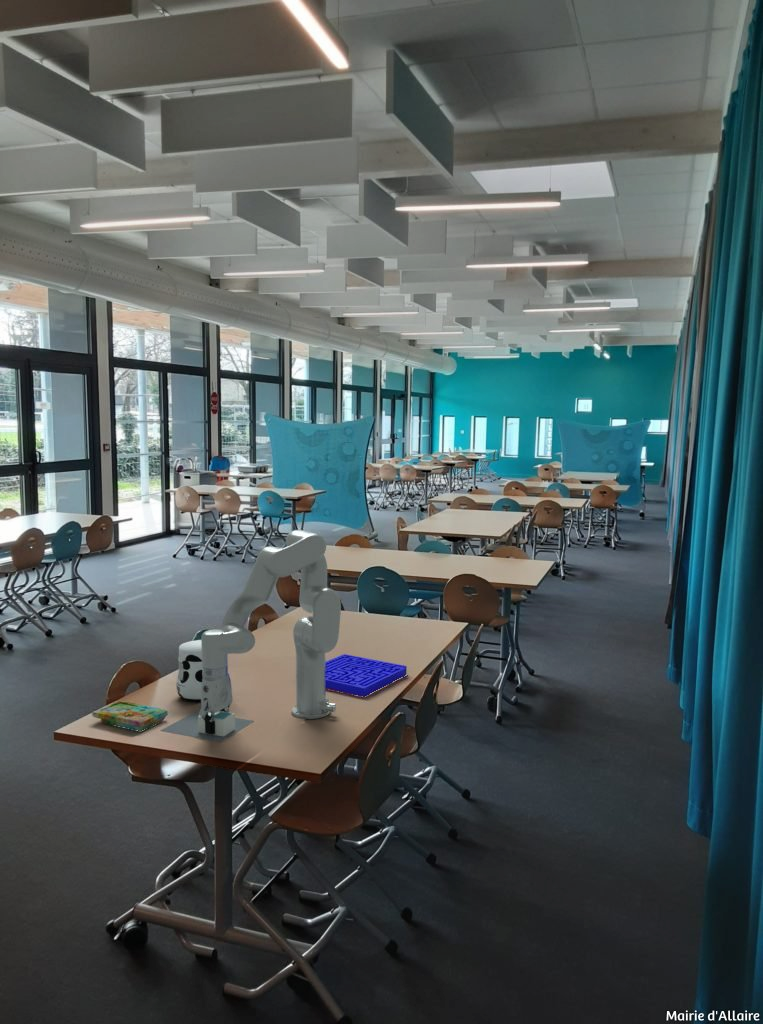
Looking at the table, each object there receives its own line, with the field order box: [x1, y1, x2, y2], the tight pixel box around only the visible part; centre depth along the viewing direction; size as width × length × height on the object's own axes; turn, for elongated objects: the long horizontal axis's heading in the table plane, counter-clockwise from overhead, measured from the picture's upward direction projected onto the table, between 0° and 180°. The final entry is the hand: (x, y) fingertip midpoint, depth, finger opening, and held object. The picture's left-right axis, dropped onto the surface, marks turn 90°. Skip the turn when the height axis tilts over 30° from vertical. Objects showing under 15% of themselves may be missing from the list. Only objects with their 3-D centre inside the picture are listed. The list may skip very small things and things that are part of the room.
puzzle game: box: [91, 700, 168, 732], centre depth 235 cm, size 12×5×20 cm
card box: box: [198, 711, 236, 737], centre depth 226 cm, size 9×6×5 cm, turn 67°
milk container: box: [175, 639, 203, 702], centre depth 259 cm, size 17×17×18 cm
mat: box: [160, 710, 255, 743], centre depth 231 cm, size 22×18×1 cm
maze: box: [325, 653, 407, 698], centre depth 279 cm, size 30×30×4 cm
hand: (216, 728), depth 226 cm, fingers closed on card box, 6 cm apart
